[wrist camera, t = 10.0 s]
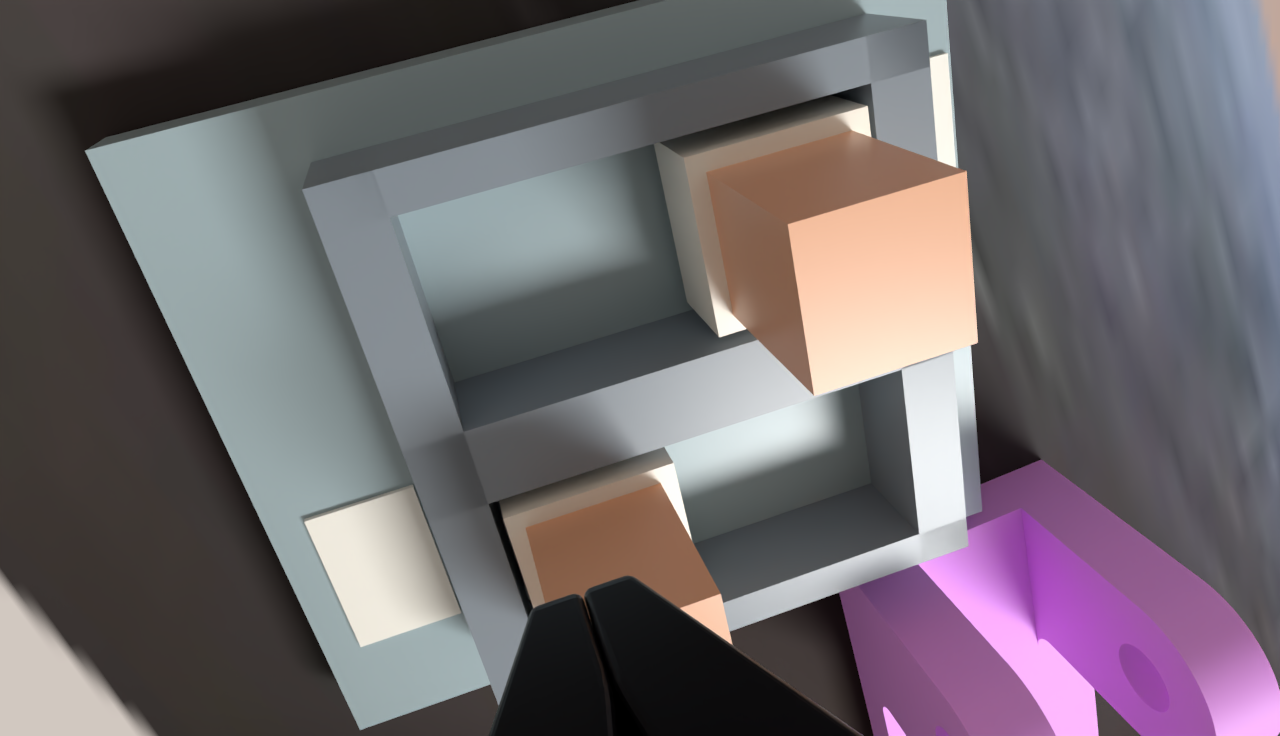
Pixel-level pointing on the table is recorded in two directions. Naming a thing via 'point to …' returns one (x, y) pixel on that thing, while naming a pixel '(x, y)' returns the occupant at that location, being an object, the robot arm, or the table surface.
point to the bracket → (1054, 630)
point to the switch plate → (531, 323)
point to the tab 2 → (822, 241)
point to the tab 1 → (613, 537)
